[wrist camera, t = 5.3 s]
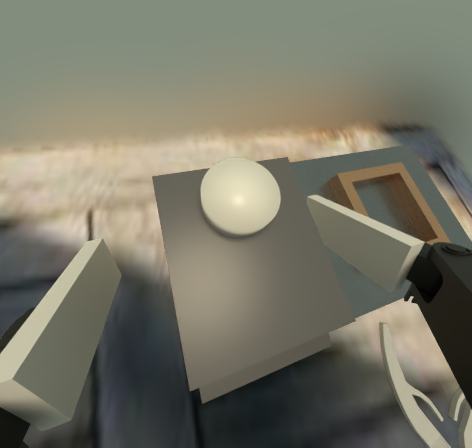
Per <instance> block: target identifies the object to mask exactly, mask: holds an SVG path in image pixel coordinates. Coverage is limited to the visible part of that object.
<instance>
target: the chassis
mask: <svg viewBox="0 0 472 448" xmlns="http://www.w3.org/2000/svg"><path fill="white" fill-rule="evenodd" d="M290 165H291V167H292V169H293V172H294V174H295V177H296V179H297V181H298V184H299V186H300V189H301V191H302V193H303V196H304V198H305V201H306V203H307V196H312V195H318V196H321V197H323V198H325V199H327V200H330V201H332V202H334V203H337V204H339V205H341V206H343V207H346V208H348V209H350V210H353V211H355V212H357V213H359V214H362V215H364V216H366V217H369V218H371V219H373V220H376V221H378V222H380V223H382V224H385V225H387V226H389V227H392V228H394V229H396V230H398V231H401V232H403V233H405V234H408V235H410V236H412V237H414V238H417V239H419V240H421V241H424V242H425V243H428V244H430V245H433V244H434V243H437V242H447V243H452V244H456V245H459V246H463V247H465V248H468V249H470V250H472V242H471V240H470V239H469V237H468V236H467V234H466V233H465V231H464V229H463V228H462V226H461V225H460V223H459V222H458V220H457V219H456V217H455V215H454V214H453V212H452V211H451V209H450V208H449V206H448V205H447V203H446V201H445V200H444V198H443V197H442V195H441V194H440V192H439V191H438V189H437V187H436V186H435V184H434V183H433V181H432V180H431V178H430V177H429V175H428V173H427V172H426V170H425V169H424V167H423V166H422V164H421V163H420V161H419V159H418V158H417V156H416V155H415V153H414V152H413V150H412V149H411V147H410V145H404V146H397V147H391V148H384V149H378V150H371V151H364V152H358V153H351V154H345V155H338V156H332V157H325V158H319V159H312V160H305V161H299V162H292V163H290ZM324 246H325V245H324ZM325 248H326V251H327V253H328V256H329V258H330V260H331V263H332V265H333V268H334V270H335V272H336V275H337V277H338V280H339V282H340V284H341V287H342V289H343V292H344V294H345V296H346V299H347V301H348V304H349V306H350V308H351V311H352V313H353V316H354V318H357V317H359V316H361V315H364V314H366V313H369V312H371V311H373V310H376V309H378V308H380V307H383V306H385V305H388V304H390V303H392V302H395V301H397V300H399V299H402V298H404V296H405V295H406V293H407V291H408V289H409V287H410V285H411V283H412V282H410V281H408V280H407V279H406V280H405V282H404V284H403V286H402V288H401V289H399V290H396V291H394V292H391V293H388V292H387V291H386V290H384V289H383V288H381V287H380V286H379V285H377V284H376V283H375V282H373V281H372V280H371V279H369V278H368V277H367V276H365V275H364V274H363V273H361V272H360V271H359V270H357V269H356V268H355V267H353V266H352V265H351V264H349V263H348V262H346V261H345V260H344V259H342V258H341V257H340V256H338V255H337V254H336V253H334V252H333V251H332V250H330V249H329V248H328V247H326V246H325Z"/></svg>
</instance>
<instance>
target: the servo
mask: <svg viewBox="0 0 472 448" xmlns="http://www.w3.org/2000/svg"><path fill="white" fill-rule="evenodd" d="M152 179H153V184H154V190H155V196H156V201H157V207H158V213H159V218H160V224H161V230H162V235H163V241H164V247H165V252H166V258H167V264H168V269H169V275H170V281H171V287H172V292H173V298H174V304H175V309H176V315H177V321H178V326H179V332H180V338H181V343H182V349H183V355H184V360H185V366H186V372H187V377H188V383H189V389H190V391H193V390H195V389H197V388H199V389H200V394H201V400H202V404H203V403H205V402H208V401H210V400H212V399H214V398H217V397H219V396H221V395H223V394H225V393H228V392H230V391H232V390H234V389H237V388H239V387H241V386H243V385H245V384H248V383H250V382H252V381H254V380H257V379H259V378H261V377H263V376H265V375H268V374H270V373H272V372H274V371H277V370H279V369H281V368H283V367H285V366H288V365H290V364H292V363H294V362H297V361H299V360H301V359H303V358H305V357H308V356H310V355H312V354H314V353H316V352H319V351H321V350H323V349H325V348H328V347H330V346H332V342H331V340H330V337H329V334H328V332H331V331H333V330H335V329H338V328H340V327H342V326H345V325H347V324H349V323H352V322H354V321H356V320H355V318H354V316H353V313H352V311H351V308H350V306H349V304H348V301H347V299H346V296H345V294H344V292H343V289H342V287H341V284H340V282H339V280H338V277H337V275H336V272H335V270H334V268H333V265H332V263H331V260H330V258H329V256H328V253H327V251H326V248H325V246H324V244H323V241H322V239H321V237H320V234H319V232H318V229H317V227H316V225H315V222H314V220H313V217H312V215H311V213H310V210H309V208H308V205H307V203H306V201H305V198H304V196H303V193H302V191H301V189H300V186H299V184H298V181H297V179H296V177H295V174H294V172H293V169H292V167H291V165H290V162H289V160H288V157H285V158H278V159H271V160H264V161H257V162H254V161H251V160H248V159H243V158H231V159H226V160H223V161H220V162H218V163H217V164H215V165H213V166H212V167H211V168H208V169H201V170H194V171H187V172H180V173H173V174H166V175H159V176H153V177H152Z"/></svg>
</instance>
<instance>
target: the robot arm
mask: <svg viewBox="0 0 472 448" xmlns="http://www.w3.org/2000/svg"><path fill="white" fill-rule="evenodd" d="M307 205H308V208H309V210H310V213H311V215H312V217H313V220H314V222H315V225H316V227H317V229H318V232H319V234H320V237H321V239H322V241H323V244H324V245H325V246H326V247H328V248H329V249H330V250H332V251H333V252H334V253H336V254H337V255H338V256H340V257H341V258H342V259H344V260H345V261H346V262H348V263H349V264H351V265H352V266H353V267H355V268H356V269H357V270H359V271H360V272H361V273H363V274H364V275H365V276H367V277H368V278H369V279H371V280H372V281H373V282H375V283H376V284H377V285H379V286H380V287H381V288H383V289H384V290H386V291H387V292H388V293H391V292H394V291H396V290H399V289H401V288H402V286H403V284H404V282H405V280H406V279H407V280H408V281H410V282H412V283H411V285H410V287H409V289H408V291H407V293H406V295H405V296H404V301H408V300H409V298H410V296H414V298H413V299H412V303H416V304H418V306H419V308H420V310H421V312H422V314H423V316H424V318H425V320H426V322H427V323H428V325H429V327H430V329H431V331H432V333H433V335H434V337H435V339H436V341H437V343H438V345H439V347H440V349H441V351H442V353H443V355H444V357H445V359H446V361H447V363H448V364H449V366H450V368H451V370H452V372H453V374H454V376H455V378H456V380H457V382H458V384H459V386H460V388H461V390H462V392H463V394H464V396H465V398H466V400H467V402H468V404H469V405H470V407H471V409H472V250H470V249H468V248H465V247H463V246H459V245H456V244H452V243H447V242H437V243H434V244H433V245H430V244H428V243H425V242H424V241H421V240H419V239H417V238H414V237H412V236H410V235H408V234H405V233H403V232H401V231H398V230H396V229H394V228H392V227H389V226H387V225H385V224H382V223H380V222H378V221H376V220H373V219H371V218H369V217H366V216H364V215H362V214H359V213H357V212H355V211H353V210H350V209H348V208H346V207H343V206H341V205H339V204H337V203H334V202H332V201H330V200H327V199H325V198H323V197H321V196H318V195H312V196H307ZM121 276H122V275H121V273H120V271H119V269H118V267H117V265H116V263H115V261H114V259H113V257H112V255H111V253H110V252H109V250H108V248H107V246H106V244H105V242H104V240H103V238H102V239H97V240H92V241H87V242H86V243H85V244H84V246H83V247H82V248H81V250H80V251H79V252H78V254H77V255H76V256H75V257H74V259H73V260H72V261H71V263H70V264H69V265H68V267H67V268H66V269H65V270H64V272H63V273H62V274H61V276H60V277H59V278H58V280H57V281H56V282H55V283H54V285H53V286H52V287H51V289H50V290H49V291H48V293H47V294H46V295H45V296H44V298H43V299H42V300H41V302H40V303H39V304H38V306H37V307H35V308H32V309H29V310H28V311H27V312H26V313H25V314H24V315H22V316H21V317H20V318H19V319H18V320H16V321H15V322H14V323H13V324H12V325H11V327H10V328H9V329H8V330H7V332H6V333H5V334H4V335H3V336H2V340H0V448H29V447H28V445H27V444H26V443H25V442H23V439H24V436H25V434H26V432H27V430H28V428H29V426H30V425H31V426H33V427H34V428H36V429H38V430H40V431H42V432H43V431H45V430H48V429H50V428H53V427H55V426H58V425H60V424H63V423H65V422H68V421H70V420H72V418H73V415H74V412H75V409H76V406H77V403H78V400H79V398H80V395H81V392H82V389H83V386H84V383H85V380H86V377H87V374H88V371H89V369H90V366H91V363H92V360H93V357H94V354H95V351H96V348H97V345H98V343H99V340H100V337H101V334H102V331H103V328H104V325H105V322H106V319H107V317H108V314H109V311H110V308H111V305H112V302H113V299H114V296H115V293H116V291H117V288H118V285H119V282H120V279H121Z"/></svg>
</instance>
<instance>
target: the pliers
mask: <svg viewBox="0 0 472 448" xmlns="http://www.w3.org/2000/svg"><path fill="white" fill-rule="evenodd" d="M379 324H380V341H381V349H382V355H383V360H384V364H385V368H386V372H387V375H388V378H389V381H390V384H391V387H392V389H393V392H394V394H395V397H396V399H397V402H398V404H399V406H400V408H401V410H402V412H403V414H404V416H405V417H406V419H407V421H408V422H409V424H410V426H411V427H412V429H413V430H414V431H415V432H416V433H417V435H418V436H419V437H420V438H421V439H422V441H423V442H424V443H425V444H426V446H427V448H451V447H450V446H449V444H448V443H447V442H446V441H445V439H444V438H443V437H442V436H441V435H440V433H439V432H438V431H437V430H436V428H435V427H434V426H433V425H432V424H431V422H430V421H429V420H428V419H427V417H426V416H425V415H424V413H423V412H422V411H421V409H420V408H419V407H418V405H417V403H416V402H415V400H414V398H413V396H412V394H413V395H417V396H419V397H420V398H421V399H422V400H423V401H424V402H425V403H426V404H427V406H428V407H429V408H430V409H431V411H432V412H433V414H434V416H435V417H436V419H438V420H440V421H443V418H442V416H441V415H440V413H439V412H438V410H437V409H436V407H435V406H434V405H433V403H432V402H431V401H430V400H429V399H428V398H427V397H426V396H425V395H424V394H423V393H422V392H420V391H418V390H417V389H415V388H413V387H411V386H410V385H409V384H408V383H407V382H406V381H405V378H404V375H403V373H402V370H401V368H400V365H399V362H398V360H397V356H396V353H395V350H394V346H393V343H392V339H391V336H390V332H389V328H388V324H386V323H379ZM464 398H465V396H464V394H463V392H462V390H461V388H459V389H458V390H457V391H456V393H455V394H454V396H453V398H452V401H451V405H450V410H449V417H450V418H452V419H453V420H455V421H457V417H458V411H459V408H460V404H461V402H462V401H463V399H464ZM458 436H459V448H472V409H471V407H470V405H469V404H468V402H467V400H466V405H465V409H464V413H463V416H462V420H461V423H460V426H459V429H458Z"/></svg>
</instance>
